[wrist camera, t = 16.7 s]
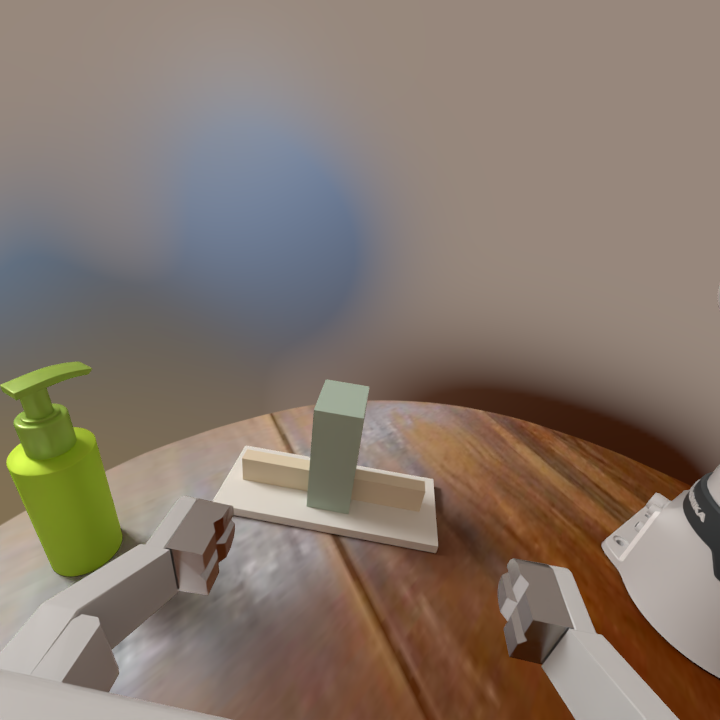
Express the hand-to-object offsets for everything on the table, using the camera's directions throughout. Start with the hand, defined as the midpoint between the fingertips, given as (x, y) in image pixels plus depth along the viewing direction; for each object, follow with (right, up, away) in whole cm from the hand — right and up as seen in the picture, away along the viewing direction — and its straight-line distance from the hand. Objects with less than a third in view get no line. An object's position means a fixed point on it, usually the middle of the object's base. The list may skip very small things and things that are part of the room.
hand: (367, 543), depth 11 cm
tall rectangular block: (-4, -11, +35) cm, 37 cm away
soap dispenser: (-27, -14, +27) cm, 41 cm away
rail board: (-4, -12, +36) cm, 38 cm away
